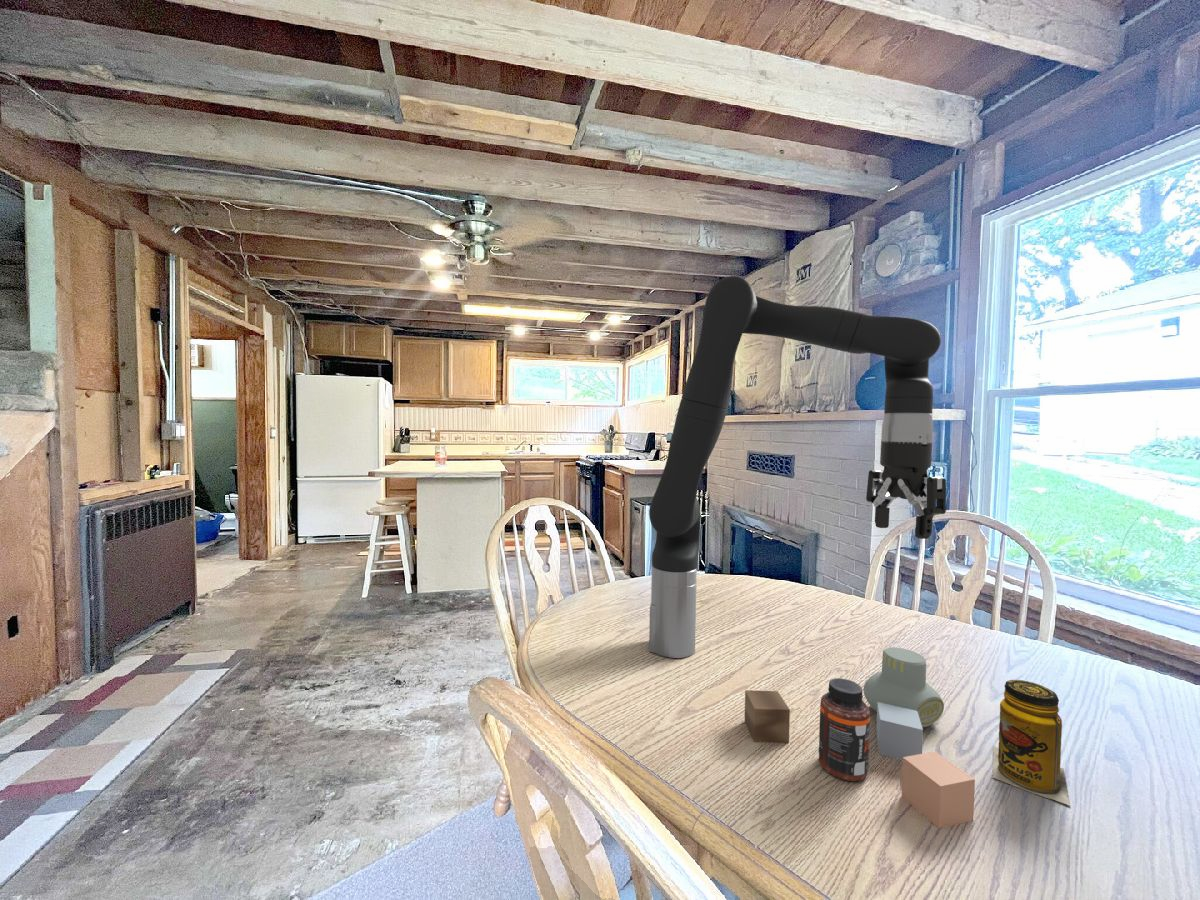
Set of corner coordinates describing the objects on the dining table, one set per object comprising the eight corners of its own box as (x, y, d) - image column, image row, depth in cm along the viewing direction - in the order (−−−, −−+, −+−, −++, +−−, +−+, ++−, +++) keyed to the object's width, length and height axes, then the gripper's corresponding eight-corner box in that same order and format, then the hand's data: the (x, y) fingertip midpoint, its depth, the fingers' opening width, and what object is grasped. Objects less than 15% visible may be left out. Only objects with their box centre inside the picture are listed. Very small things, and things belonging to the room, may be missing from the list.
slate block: (879, 754, 67) (880, 719, 67) (876, 734, 71) (877, 701, 71) (921, 765, 65) (923, 729, 65) (915, 744, 69) (917, 710, 69)
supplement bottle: (875, 787, 60) (878, 700, 60) (824, 780, 62) (827, 694, 61) (859, 756, 66) (862, 676, 66) (813, 750, 67) (816, 671, 67)
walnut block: (754, 742, 69) (755, 708, 69) (744, 721, 74) (745, 690, 74) (788, 743, 69) (789, 709, 69) (776, 722, 74) (777, 691, 74)
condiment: (992, 779, 62) (996, 689, 62) (993, 747, 69) (997, 665, 68) (1070, 808, 58) (1075, 710, 57) (1063, 771, 64) (1068, 683, 64)
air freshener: (904, 740, 70) (907, 673, 70) (854, 709, 78) (856, 649, 77) (950, 723, 75) (953, 660, 74) (899, 696, 82) (901, 639, 82)
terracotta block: (939, 829, 54) (940, 786, 54) (901, 796, 59) (902, 757, 59) (973, 821, 55) (974, 779, 55) (933, 789, 60) (935, 751, 60)
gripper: (857, 438, 89) (853, 525, 90) (923, 440, 75) (918, 542, 76) (891, 439, 90) (887, 524, 91) (962, 441, 77) (957, 541, 77)
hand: (901, 532), depth 83 cm, fingers open, 8 cm apart
